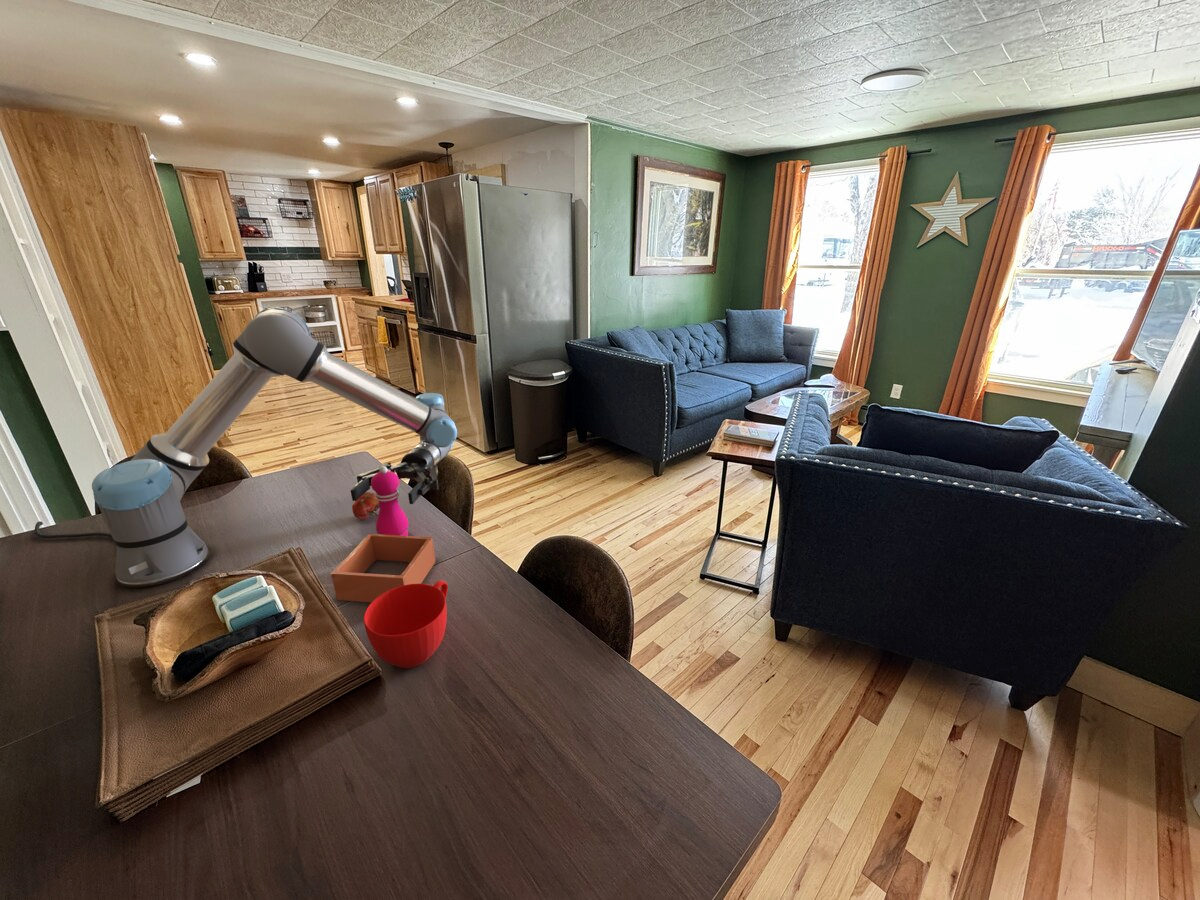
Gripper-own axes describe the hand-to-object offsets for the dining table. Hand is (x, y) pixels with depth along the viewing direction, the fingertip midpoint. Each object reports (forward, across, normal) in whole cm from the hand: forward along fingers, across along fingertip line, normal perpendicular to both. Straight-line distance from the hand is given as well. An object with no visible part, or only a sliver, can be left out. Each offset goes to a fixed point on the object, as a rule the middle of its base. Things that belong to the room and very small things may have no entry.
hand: (381, 497), depth 108 cm
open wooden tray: (+12, +6, +13) cm, 19 cm away
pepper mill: (-2, 0, +13) cm, 14 cm away
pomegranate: (-12, -12, +14) cm, 22 cm away
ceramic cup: (+29, +20, +14) cm, 38 cm away
